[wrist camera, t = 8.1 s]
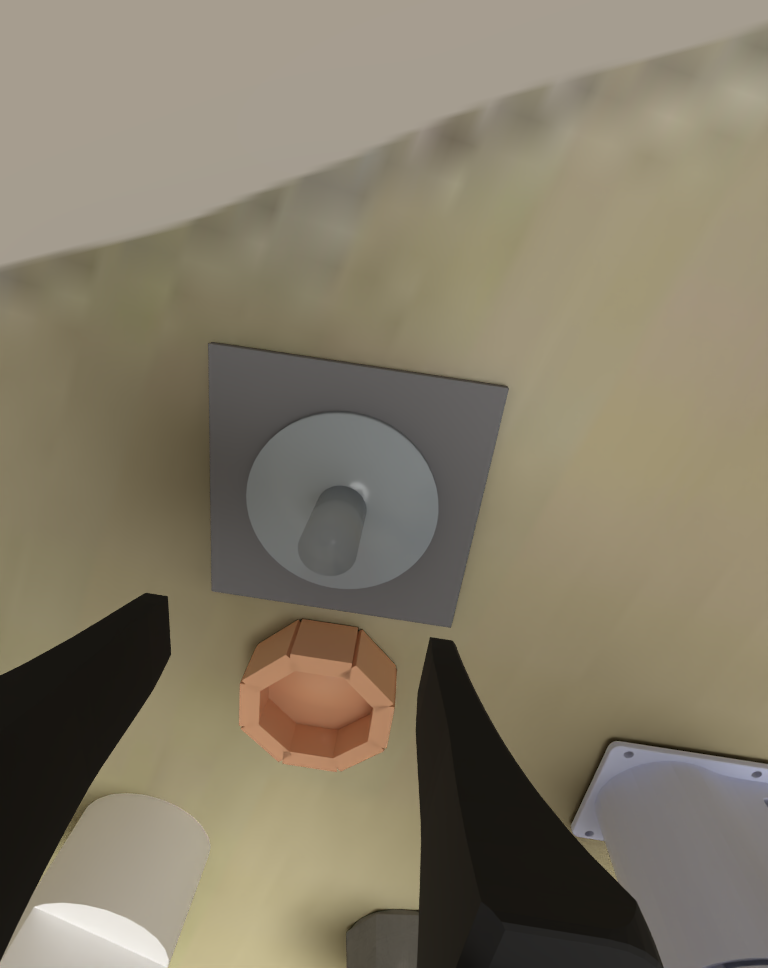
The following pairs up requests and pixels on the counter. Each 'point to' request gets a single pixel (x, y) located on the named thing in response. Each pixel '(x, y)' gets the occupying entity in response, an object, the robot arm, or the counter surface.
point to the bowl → (319, 696)
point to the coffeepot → (384, 940)
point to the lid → (342, 500)
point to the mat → (366, 390)
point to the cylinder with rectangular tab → (114, 889)
